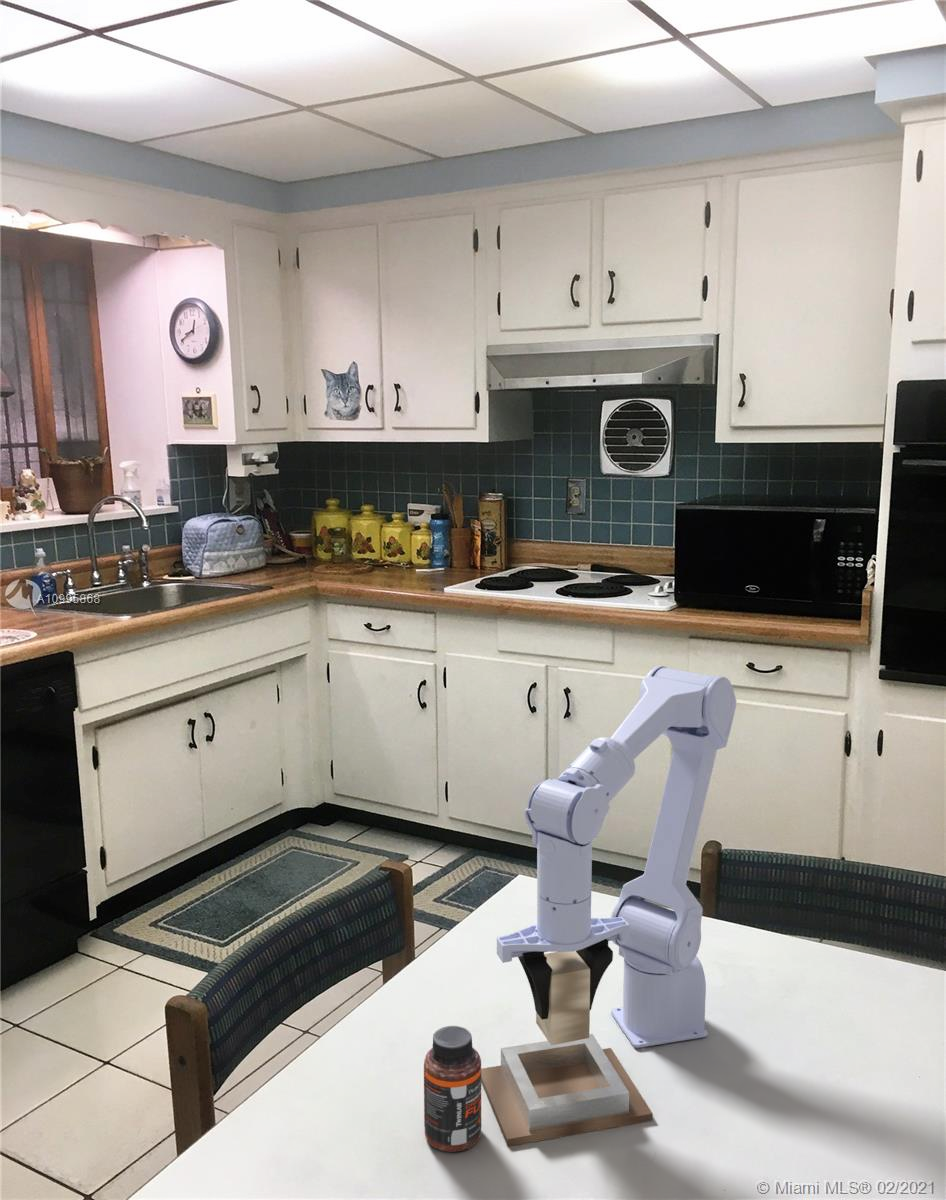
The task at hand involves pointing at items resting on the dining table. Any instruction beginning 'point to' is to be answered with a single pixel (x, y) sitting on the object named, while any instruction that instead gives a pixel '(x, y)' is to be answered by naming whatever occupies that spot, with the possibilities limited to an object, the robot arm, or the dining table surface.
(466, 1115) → the supplement bottle
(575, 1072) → the collar board
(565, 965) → the peg
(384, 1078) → the dining table surface
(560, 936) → the robot arm
